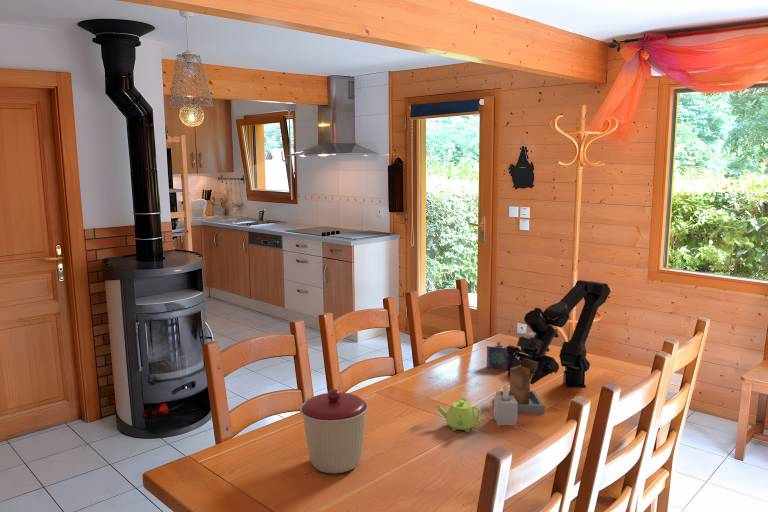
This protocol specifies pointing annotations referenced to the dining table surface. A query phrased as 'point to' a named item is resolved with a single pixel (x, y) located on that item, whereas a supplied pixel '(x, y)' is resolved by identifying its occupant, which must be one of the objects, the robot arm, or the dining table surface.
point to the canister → (334, 430)
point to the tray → (533, 406)
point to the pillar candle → (525, 362)
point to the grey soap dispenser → (505, 408)
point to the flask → (497, 357)
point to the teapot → (461, 415)
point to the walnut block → (520, 384)
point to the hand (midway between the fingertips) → (519, 380)
